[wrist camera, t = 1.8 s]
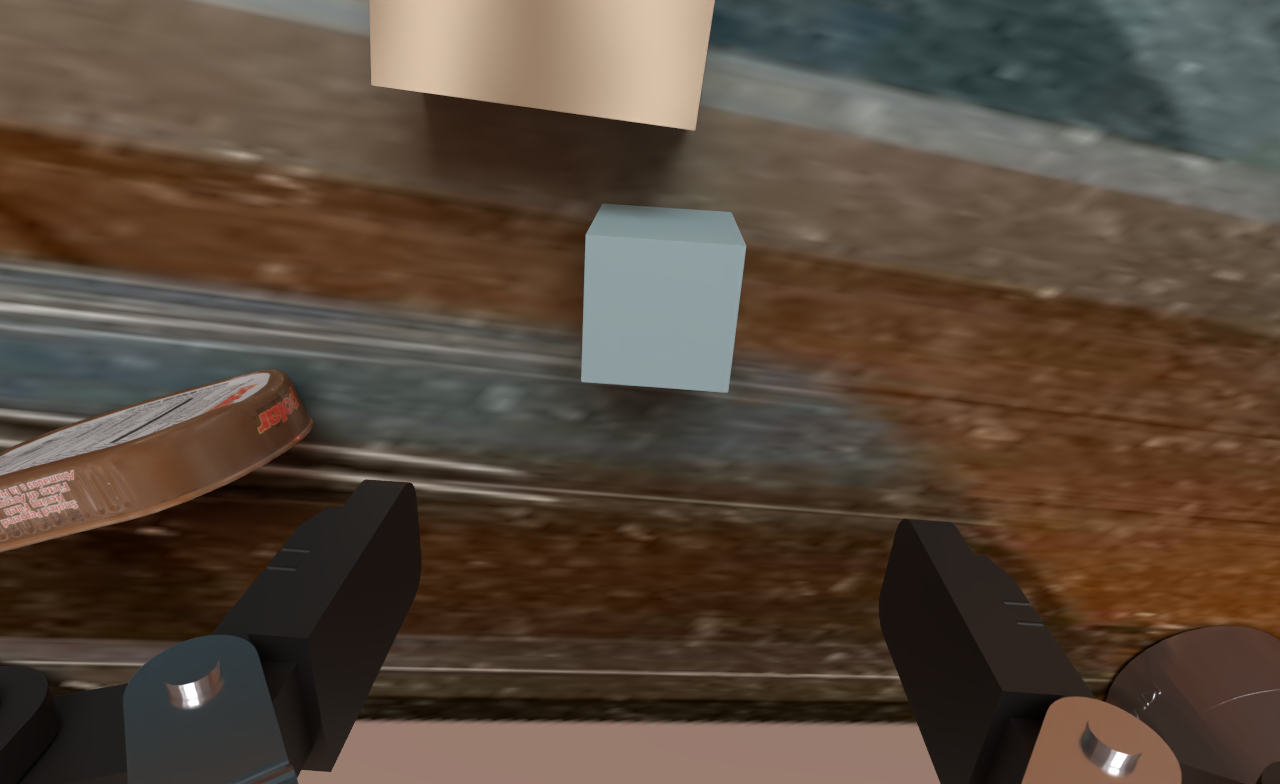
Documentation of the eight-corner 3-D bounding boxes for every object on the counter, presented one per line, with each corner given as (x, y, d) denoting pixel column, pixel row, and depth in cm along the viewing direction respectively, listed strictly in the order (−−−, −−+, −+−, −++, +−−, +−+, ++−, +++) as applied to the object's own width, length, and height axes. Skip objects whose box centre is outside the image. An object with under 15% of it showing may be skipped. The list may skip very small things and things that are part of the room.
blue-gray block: (731, 212, 27) (746, 246, 22) (717, 333, 29) (728, 392, 24) (602, 203, 27) (585, 234, 22) (598, 325, 30) (581, 381, 24)
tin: (66, 478, 34) (-112, 597, 26) (26, 421, 32) (-174, 528, 25) (350, 402, 31) (247, 508, 24) (318, 338, 30) (198, 427, 23)
